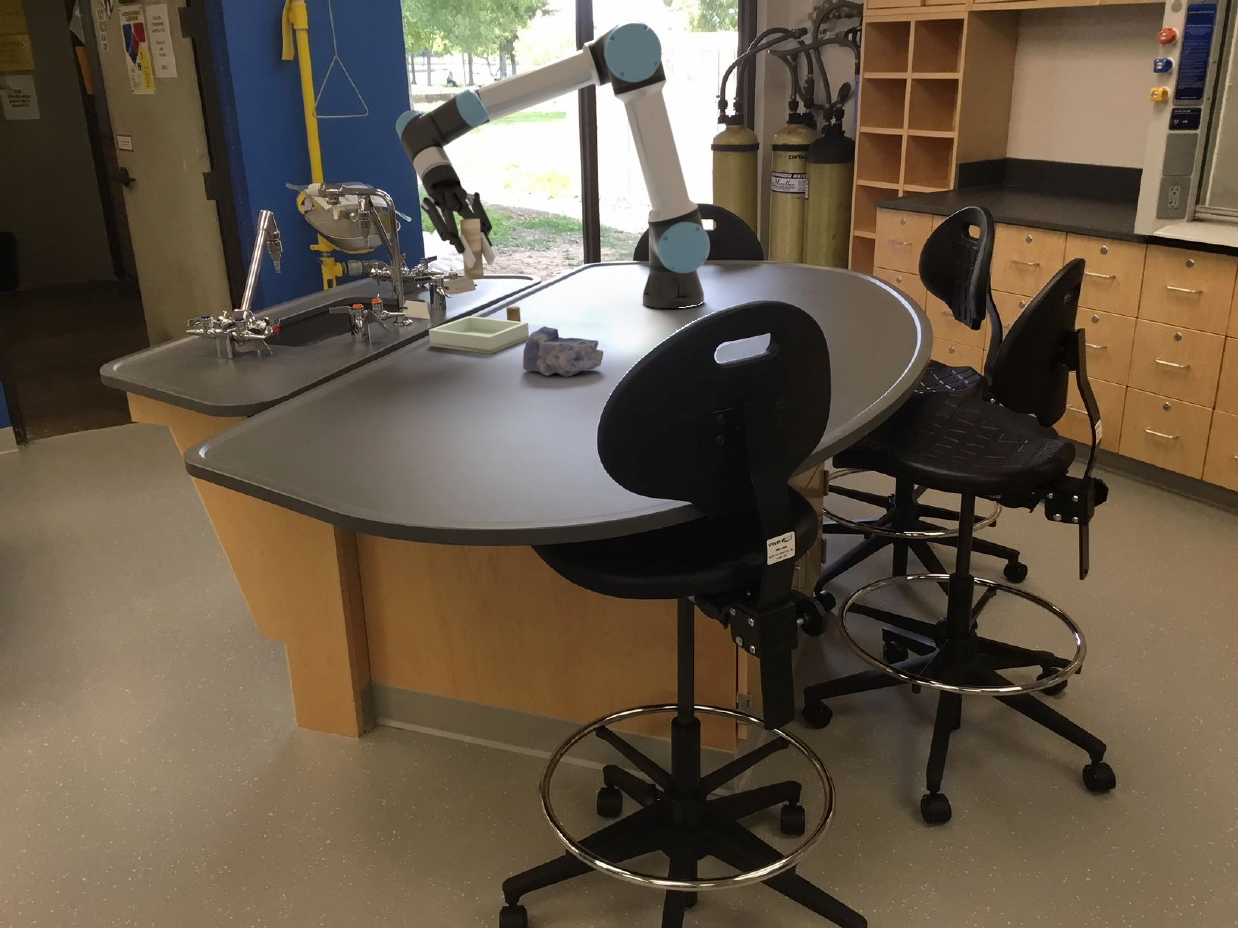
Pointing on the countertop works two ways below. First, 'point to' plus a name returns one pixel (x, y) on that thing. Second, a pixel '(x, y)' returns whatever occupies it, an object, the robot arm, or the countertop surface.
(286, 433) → the countertop surface
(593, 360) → the mineral
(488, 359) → the countertop surface
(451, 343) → the tray
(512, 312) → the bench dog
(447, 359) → the countertop surface
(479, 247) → the dowel
